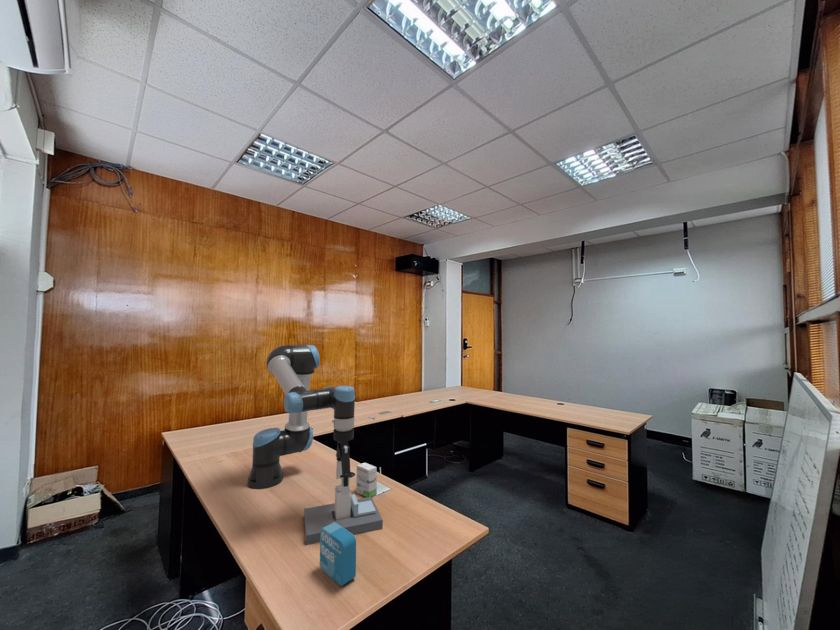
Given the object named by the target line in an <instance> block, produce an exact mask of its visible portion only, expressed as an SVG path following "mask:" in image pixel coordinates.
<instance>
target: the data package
mask: <svg viewBox="0 0 840 630" xmlns="http://www.w3.org/2000/svg"><path fill="white" fill-rule="evenodd" d="M319 566H320V569H321V570H322V571H323V572H324V574H326V575H327V576H328V577H329V578H331V579H332V580H333V581H334V582H336V583H335V584H338V586H340V587H342V586H345V584H347V583H349V582H351V581H352V580H353V579H355V578H356V575H357V538H356V536H355V535H353V534H352V533H350V532H349V531H347V530H346V529H345V528H343V527H342V526H340V525H339V524H337V523H336V522H334V523H332V524H330V525H327V526H325V527H323V528H322V529H321V531H320V542H319Z"/></svg>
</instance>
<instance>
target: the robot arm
mask: <svg viewBox="0 0 840 630" xmlns="http://www.w3.org/2000/svg"><path fill="white" fill-rule="evenodd" d="M320 358H321V357H320V353H319V349H318V348H317V347H316V346H315V345H313V344H291V345H285V344H284V345H280V346H278V347H275V348H274V349H272V350H271V352H270V353H269V354H268V356H267V358H266V361H265V363H266V367H267V370H268V372H269V373H270V374H272V375H273V376H274V377H275V379H276V381H277V382H278V385H279V386H280V388H281V390H282V391H283V393H284V397H283V407H284V411H285V412H286V413H287V414H288V422H286V423H285V425H284V429H282V430H281V428H279V427H270V428H267V429H263V430H261V431H259V432H256V433H255V434H254V436H253V440H252V465H251V466H252V467H251V470H250V473H249V475H248V478H247V486H248V488H250V489H267V488H270V487H274V486H276V485H278V484H280V483H281V482H283V479H284V472H283V470H282V467H281V463H280V460H281V459H280V457H284V456H288V455H291V454H296V453H302V452H304V451H307V450H309V449H310V448H311V446H312V444H313V441H314V434H313V433H314V430H313V428H312V427H311V426H310V423H309V422H308V421H307V420H308V413H309V412H311V411H316V410H325V409H333V419H332V422H331V423H332V424H333V429H332V430H333V431H332V433H333V434H332V435H333V437H332V438H333V440H334V441H336V443H337V446H336V454H335V457H336V458H335V459H336V468H335V469H336V471H335V473H336V474H335V477H336V479H335V480H338V479H340V481H341V482H340V485H341V496H342V495H349V488H350V477H351V475H352V474H351V459H350V458H351V456H350V449H351V447H350V444H349V442H350V441H352V440H353V439H354V437H355V436H354V434H355V429H354V428H355V408H356V407H355V404H356V402H355V401H356V395H355V393H356V392H355V388H354V386H350V385H339V386H335V387H334V386H327V387H324V388H323V389H313V390H312V389H311V390H310V388H311V377H312V376H313V375H314V374H315V369H317V368H319V367H320V364H321V363H320V362H321V360H320Z"/></svg>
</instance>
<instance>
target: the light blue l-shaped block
mask: <svg viewBox="0 0 840 630" xmlns="http://www.w3.org/2000/svg"><path fill="white" fill-rule="evenodd" d="M357 499H358V498H357V496H356V493H355V494H352V493H351V509H352V512H353V515H354V517H356V516H361V515H367V514H372V513H376V510H375V508H374V506H373V503H372V501H371V500H370V501H365V502H359V503H358V501H357Z"/></svg>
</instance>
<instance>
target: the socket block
mask: <svg viewBox="0 0 840 630" xmlns="http://www.w3.org/2000/svg"><path fill="white" fill-rule="evenodd" d="M356 499H357V501H358V503H359V502H365V501H370V500H371V501H372V503H373V506H374V508H375V510H376V513H372V514H367V515H361V516H356V517H354V515H353V512H352V509H351V504H350V518H346V519H341V520H336V521H335V502H334V503H329V504H322V505H319V506H318V505H317V506H312V507H305V508H304V513H303V514H304V515H303V519H304V536H305V545H306V546H308V545H312V544H317V543H320V531H321V529H322V528H323V527H325V526H327V525H330V524H332V523H334V522H336V523H337V524H339V525H340V526H342V527H343V528H345V529H346V530H347V531H349V532H350V533H352V534H353V535H354V536H355V535H359V534H364V533H368V532H373V531H377V530H382V529H383V524H384V523H383V518H382V515H381V514H380V512H379V509H378V508H377V505H376V503H375V501H374V499H373V496H372V497H362V498H356Z"/></svg>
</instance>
